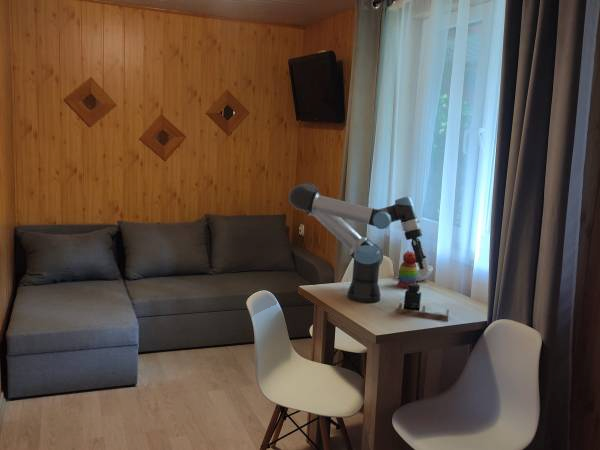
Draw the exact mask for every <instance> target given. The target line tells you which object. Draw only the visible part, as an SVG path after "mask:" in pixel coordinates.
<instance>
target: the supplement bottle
mask: <svg viewBox="0 0 600 450" xmlns="http://www.w3.org/2000/svg"><path fill="white" fill-rule="evenodd" d="M420 286H421V285H420V284H418V283H416V284H413V283H411V284H409V285H408V289H406V291H405V293H404V299H403V300H404V301H403V307H402V309H409V310H416V311H421V310H420V308H421V301H422V292H421V291H420V290H421V289H420V288H421V287H420Z"/></svg>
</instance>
